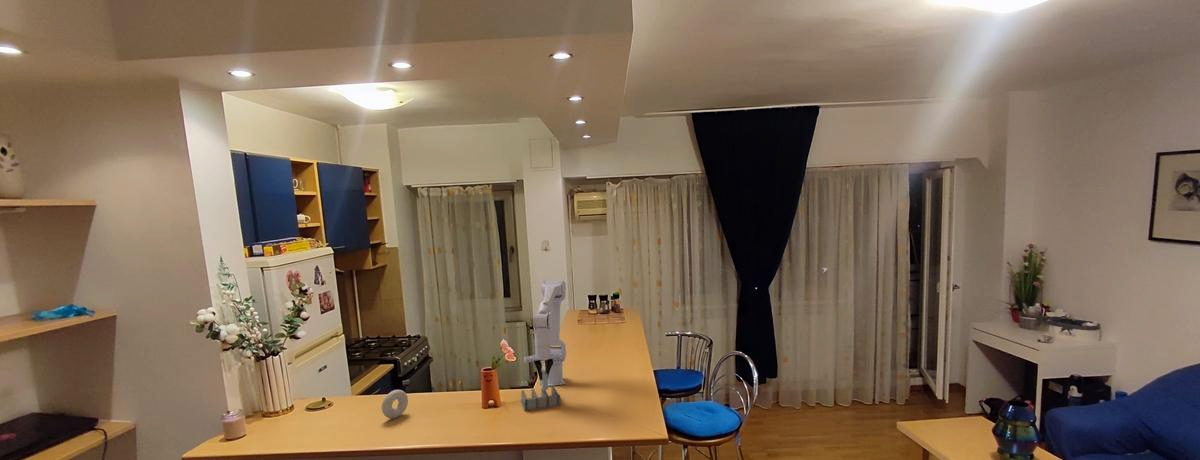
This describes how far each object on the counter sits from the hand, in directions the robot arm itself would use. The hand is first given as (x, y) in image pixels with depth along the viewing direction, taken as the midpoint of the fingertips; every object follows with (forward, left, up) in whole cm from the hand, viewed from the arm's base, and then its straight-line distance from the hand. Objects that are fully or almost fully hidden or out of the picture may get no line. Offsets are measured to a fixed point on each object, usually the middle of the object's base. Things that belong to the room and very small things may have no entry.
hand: (543, 379), depth 180 cm
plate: (0, 0, -3) cm, 3 cm away
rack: (+1, -2, -9) cm, 9 cm away
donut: (-5, -54, -9) cm, 55 cm away
